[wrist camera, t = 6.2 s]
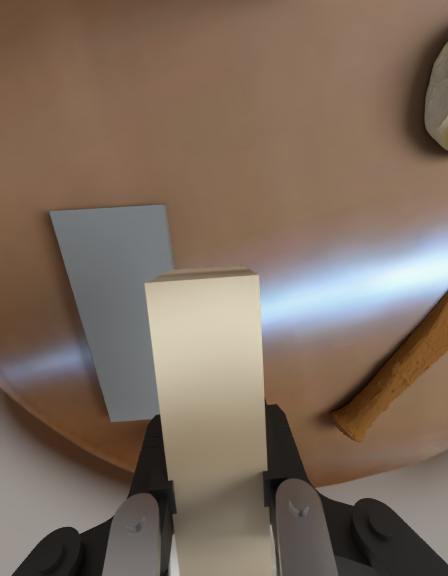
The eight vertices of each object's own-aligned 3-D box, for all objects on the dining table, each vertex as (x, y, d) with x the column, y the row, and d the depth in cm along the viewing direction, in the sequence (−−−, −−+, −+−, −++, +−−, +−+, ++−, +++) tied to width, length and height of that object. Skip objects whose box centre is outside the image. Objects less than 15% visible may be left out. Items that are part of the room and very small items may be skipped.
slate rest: (57, 210, 18) (49, 211, 17) (165, 204, 18) (163, 204, 17) (114, 413, 25) (111, 422, 24) (192, 407, 25) (192, 415, 24)
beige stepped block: (134, 272, 10) (85, 287, 6) (276, 262, 10) (314, 271, 7) (171, 560, 13) (152, 701, 9) (285, 547, 13) (317, 680, 9)
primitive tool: (462, 270, 22) (507, 283, 19) (496, 299, 23) (543, 317, 20) (321, 409, 27) (336, 439, 24) (356, 427, 28) (375, 458, 25)
